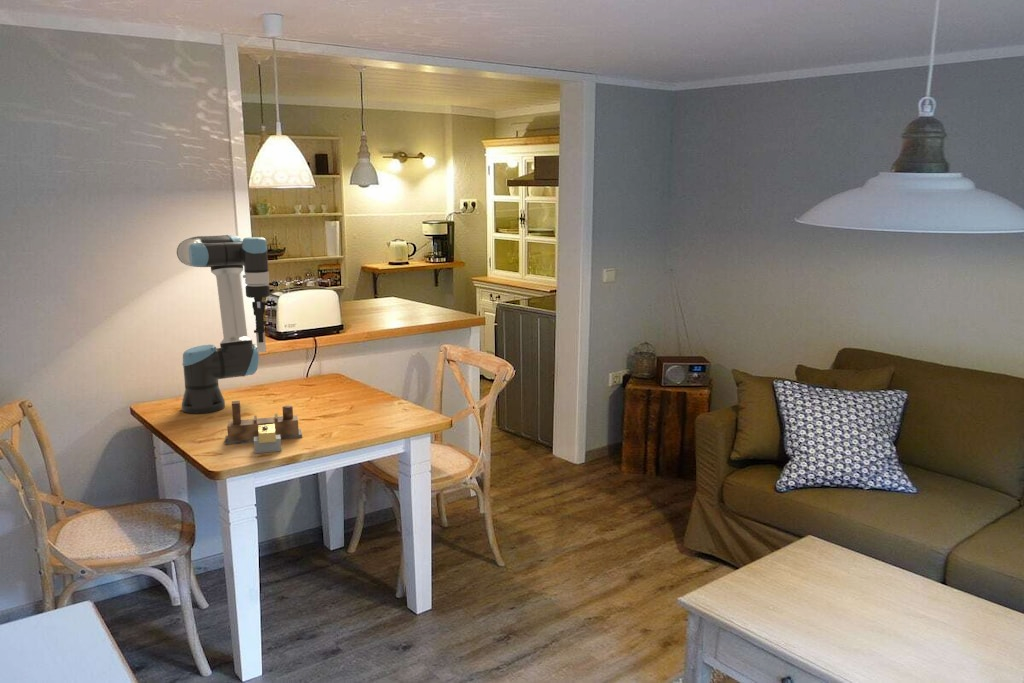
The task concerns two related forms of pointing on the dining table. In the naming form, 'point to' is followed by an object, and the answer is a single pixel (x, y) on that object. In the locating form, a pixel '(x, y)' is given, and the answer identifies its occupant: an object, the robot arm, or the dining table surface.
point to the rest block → (267, 445)
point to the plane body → (249, 428)
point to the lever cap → (266, 433)
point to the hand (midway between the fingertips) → (261, 347)
